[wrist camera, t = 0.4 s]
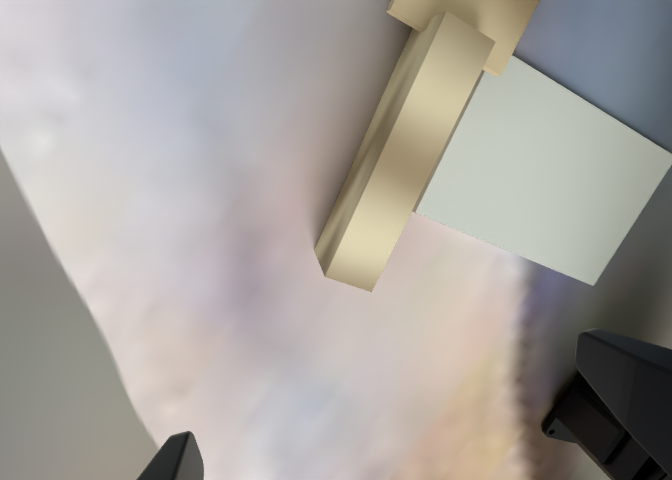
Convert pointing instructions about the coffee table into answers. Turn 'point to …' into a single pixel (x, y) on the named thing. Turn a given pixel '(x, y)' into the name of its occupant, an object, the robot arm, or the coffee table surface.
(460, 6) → the spatula
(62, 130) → the coffee table surface
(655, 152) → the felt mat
